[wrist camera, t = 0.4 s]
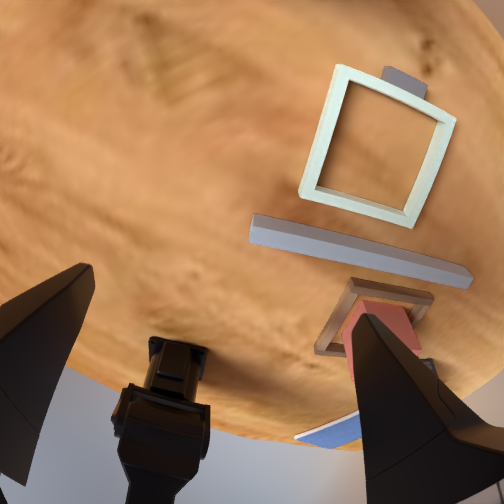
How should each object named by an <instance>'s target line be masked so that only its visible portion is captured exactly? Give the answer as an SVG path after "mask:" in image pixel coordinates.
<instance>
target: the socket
mask: <svg viewBox="0 0 504 504" xmlns="http://www.w3.org/2000/svg"><path fill="white" fill-rule="evenodd" d="M348 81H351V82H354V83H357V84H359V85H362V86H365V87H367V88H370V89H372V90H375V91H377V92H379V93H382V94H384V95H386V96H389V97H391V98H393V99H395V100H398V101H400V102H402V103H404V104H406V105H408V106H410V107H412V108H415V109H417V110H419V111H421V112H423V113H424V114H426V115H428V116H430V117H432V118H434V119H436V120H438V122H437V125H436V128H435V131H434V134H433V137H432V140H431V142H430V145H429V148H428V151H427V153H426V156H425V159H424V161H423V164H422V166H421V169H420V171H419V174H418V176H417V179H416V181H415V184H414V186H413V189H412V191H411V193H410V196H409V198H408V200H407V203H406V205H405V207H404V209H403V211H401V210H398V209H395V208H392V207H389V206H386V205H383V204H379V203H376V202H373V201H370V200H367V199H363V198H360V197H357V196H353V195H350V194H346V193H343V192H339V191H336V190H332V189H329V188H325V187H321V186H318V185H316V184H317V181H318V178H319V175H320V172H321V169H322V166H323V162H324V159H325V156H326V153H327V150H328V147H329V144H330V141H331V137H332V134H333V131H334V128H335V125H336V121H337V118H338V115H339V112H340V108H341V105H342V102H343V98H344V95H345V91H346V88H347V85H348ZM427 86H428V85H427V84H425V83H423V82H421V81H420V80H418V79H416V78H414V77H412V76H410V75H408V74H406V73H404V72H402V71H400V70H398V69H396V68H393V67H384V70H383V73H382V77H381V79H378V78H376V77H374V76H371V75H369V74H366V73H364V72H361V71H359V70H356V69H353V68H351V67H348V66H345V65H342V64H336V66H335V69H334V73H333V76H332V80H331V83H330V87H329V90H328V94H327V97H326V100H325V104H324V107H323V111H322V114H321V118H320V121H319V124H318V128H317V131H316V134H315V138H314V141H313V144H312V148H311V151H310V154H309V157H308V161H307V164H306V167H305V170H304V174H303V177H302V180H301V183H300V186H299V190H298V193H299V196H300V198H304V199H308V200H312V201H315V202H319V203H323V204H327V205H331V206H335V207H338V208H342V209H346V210H349V211H353V212H357V213H360V214H364V215H367V216H371V217H374V218H377V219H381V220H384V221H388V222H391V223H394V224H397V225H401V226H404V227H407V228H410V229H412V228H413V226H414V224H415V222H416V220H417V218H418V216H419V214H420V211H421V209H422V207H423V205H424V203H425V200H426V198H427V196H428V194H429V191H430V189H431V187H432V184H433V182H434V179H435V177H436V175H437V172H438V170H439V167H440V165H441V162H442V159H443V157H444V154H445V151H446V149H447V146H448V143H449V140H450V137H451V135H452V132H453V129H454V126H455V123H456V120H457V119H456V118H455V117H453V116H451V115H450V114H448V113H446V112H445V111H443V110H441V109H439V108H438V107H436V106H434V105H432V104H430V103H428V102H427V101H425V100H423V99H424V96H425V92H426V89H427Z"/></svg>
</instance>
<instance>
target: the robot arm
mask: <svg viewBox="0 0 504 504" xmlns="http://www.w3.org/2000/svg"><path fill="white" fill-rule="evenodd" d="M94 290H95V280H94V272H93V267H92V265H90V264H87V263H78V264H76V265H74V266H72V267H70V268H69V269H67V270H65V271H63V272H61V273H59V274H57V275H55V276H53V277H51V278H49V279H47V280H46V281H44V282H42V283H40V284H38V285H36V286H34V287H33V288H31V289H29V290H27V291H25V292H24V293H22V294H20V295H18V296H16V297H15V298H13V299H11V300H9V301H8V302H6V303H4V304H2V305H1V307H0V475H1V473H3V474H4V475H6V476H7V477H9V478H11V479H12V480H14V481H16V482H18V483H20V484H21V485H23V486H26V483H27V479H28V474H29V471H30V467H31V463H32V459H33V456H34V452H35V449H36V445H37V441H38V438H39V433H40V431H41V428H42V425H43V422H44V419H45V416H46V413H47V410H48V407H49V405H50V402H51V399H52V397H53V393H54V391H55V389H56V386H57V383H58V381H59V378H60V376H61V373H62V371H63V368H64V366H65V364H66V361H67V359H68V357H69V354H70V352H71V350H72V347H73V345H74V343H75V341H76V338H77V336H78V334H79V332H80V329H81V327H82V324H83V321H84V318H85V315H86V313H87V310H88V307H89V304H90V302H91V299H92V296H93V293H94ZM351 340H352V357H353V373H354V381H355V388H356V395H357V402H358V409H359V417H360V425H361V434H362V443H363V453H364V464H365V476H366V493H367V504H504V428H502V427H495V426H492V425H490V424H488V423H486V422H485V421H484V420H482V419H481V418H480V417H479V416H478V415H477V414H476V413H474V411H472V410H471V409H470V408H469V407H468V406H467V405H466V404H465V403H463V401H461V400H460V399H459V398H458V397H457V396H456V395H455V394H454V393H453V392H452V391H451V390H450V389H449V388H448V387H447V386H446V385H445V384H444V383H443V382H442V381H441V380H440V379H439V378H437V376H436V375H435V374H434V373H433V372H432V371H431V370H430V369H429V368H428V367H427V366H426V365H425V364H424V363H423V362H422V361H421V360H420V359H419V358H418V357H417V356H416V355H415V354H414V353H413V352H412V351H411V350H410V349H409V348H408V347H407V346H406V345H405V344H404V343H403V342H402V341H401V340H400V339H399V338H398V337H397V336H396V335H395V334H394V333H393V332H392V331H391V330H390V329H389V328H388V327H387V326H386V325H385V324H384V323H383V322H382V321H381V320H380V319H379V318H378V317H377V316H376V315H374V314H372V313H362V314H361V315H360V317H359V319H358V321H357V322H356V324H355V326H354V327H353V329H352V333H351ZM148 343H149V361H150V365H149V368H148V372H147V375H146V379H145V382H144V386H143V388H142V387H139V386H136V385H135V384H133V383H129V386H128V387H127V388H123V389H122V393H121V396H120V399H119V402H118V404H117V406H116V408H115V410H114V412H113V414H112V416H111V421H112V423H113V425H114V430H115V432H114V436H115V437H117V438H120V440H119V444H118V448H117V452H118V456H119V458H120V461H121V464H122V466H123V469H124V472H125V474H126V477H127V480H128V482H129V487H128V492H127V497H126V503H125V504H174V500H175V495H176V494H177V493H178V492H179V491H180V490H181V489H182V488H183V487H184V486H185V485H186V484H187V483H188V482H189V481H190V480H192V478H193V477H194V476H195V475H196V474H197V472H198V468H199V462H200V460H203V459H204V458H205V456H206V453H207V450H208V446H209V441H210V405H206V404H205V405H203V404H199V403H195V398H196V392H197V386H198V381H200V380H202V375H203V370H204V365H205V360H206V355H207V350H206V349H205V348H202V347H197V346H192V345H187V344H182V343H178V342H173V341H168V340H164V339H160V338H156V337H150V338H149V341H148ZM0 504H7V501H6V499H5V497H4V495H3V492H2V490H1V488H0Z"/></svg>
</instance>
